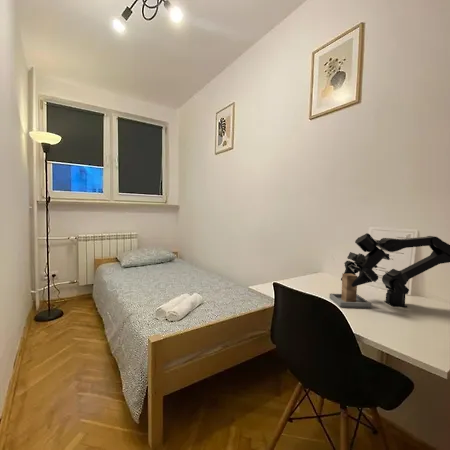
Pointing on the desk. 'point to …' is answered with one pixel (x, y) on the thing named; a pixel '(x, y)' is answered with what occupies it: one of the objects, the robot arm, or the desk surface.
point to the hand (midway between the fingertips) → (346, 283)
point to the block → (348, 288)
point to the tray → (358, 304)
